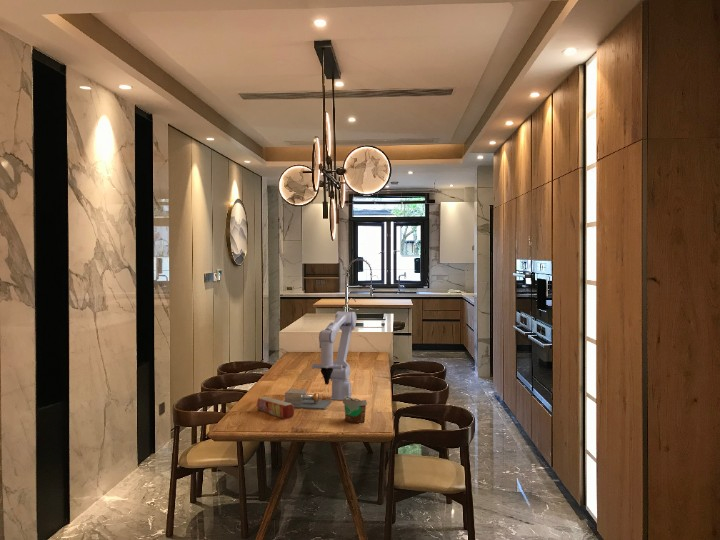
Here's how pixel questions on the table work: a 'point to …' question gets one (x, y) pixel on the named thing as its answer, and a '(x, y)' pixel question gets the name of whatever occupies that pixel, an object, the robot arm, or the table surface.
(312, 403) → the slate base board
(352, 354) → the table surface
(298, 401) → the bearing housing
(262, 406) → the snack package
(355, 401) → the food container
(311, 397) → the steel shaft
